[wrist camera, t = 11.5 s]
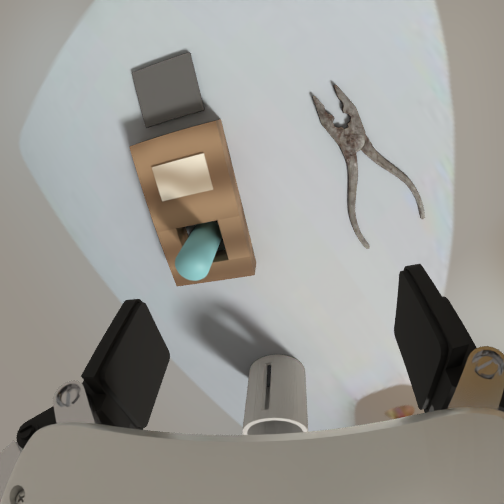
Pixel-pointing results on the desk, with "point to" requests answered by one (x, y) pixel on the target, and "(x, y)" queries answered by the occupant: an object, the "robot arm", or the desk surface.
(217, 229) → the peg
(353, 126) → the pliers
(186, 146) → the wooden peg hole block
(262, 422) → the cup
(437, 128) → the desk surface
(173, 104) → the pad
